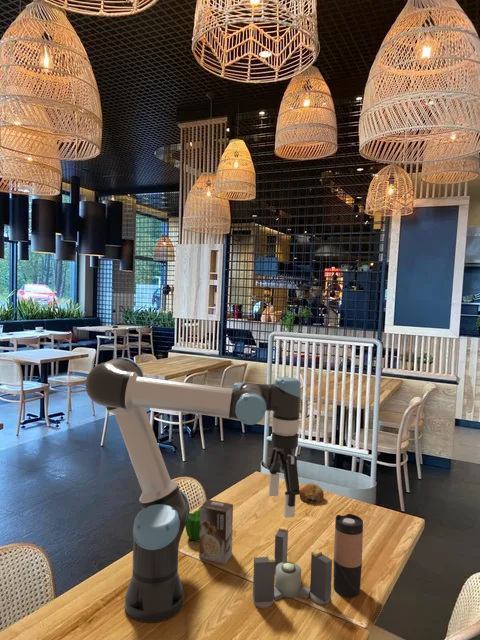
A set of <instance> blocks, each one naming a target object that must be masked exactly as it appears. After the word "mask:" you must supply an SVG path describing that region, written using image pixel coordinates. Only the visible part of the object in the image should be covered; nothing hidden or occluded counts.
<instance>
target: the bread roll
mask: <svg viewBox="0 0 480 640" xmlns="http://www.w3.org/2000/svg"><path fill="white" fill-rule="evenodd" d="M299 490H300V494H299V499H300V500H301V501H302V500H303V501H302V502H304V503H307V502H308V504H317V503H321V502H322V501H323V500H324V495H325V494H324V491H323V488H322V487H321V486H319V485H318V484H316V483H314V482H306V483H305V484H304V485H303V486H301V487H300V488H299Z"/></svg>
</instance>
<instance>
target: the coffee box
mask: <svg viewBox="0 0 480 640" xmlns="http://www.w3.org/2000/svg"><path fill="white" fill-rule="evenodd" d="M199 508H200V540H199V541H198V543H199V550H198V551H199V552H198V553H199V554H198V556H199V557H198V558H199V559H203V560H206V561H212V562H217V563H221V564H224V565H225V564H227V563H228V561H229V560H230V558H231V557H232V555H233V520H234V519H233V514H234V512H233V510H234V504H232V503H228V502H223V501H217V500H212V499H207V500H205V501H204V502H203V504H202V505H201V506H199Z"/></svg>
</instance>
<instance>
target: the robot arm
mask: <svg viewBox="0 0 480 640" xmlns="http://www.w3.org/2000/svg"><path fill="white" fill-rule="evenodd" d="M301 388H302V385H301V381H300V380H299V379H298V378H294V377H288V376H287V377H286V376H281V377H277V378H275V379H274V382H273V383H272V384H270V383H269V384H267V383H255V382H253V383H252V382H246V381H244V382H235V383H234V384H233V385H232V388H231V387H230V388H229V387H222V386H213V385H207V384H199V383H198V384H197V383H191V382H190V383H189V382H184V381H183V382H182V381H176V380H175V381H174V380H168V379H159V378H152V377H144V373H143V370H142V367H141V366H140V365H139V364H138V363H137V362H136V361H134V360H133V359H130V358H128V357H115V358H113V359H111V360H108V361H106V362H101V363H99V364H97V365H96V366H94V367H93V368H92V369H90V371H89V372H88V374H87V377H86V379H85V390H86V393H87V396H89V399H91V400H92V402H94V403H96V404H97V405H99V406H102V407H105V408H106V410H107V411H106V412H108V413H111V414H112V415H114V417H115V419H116V422H117V425H118V428H119V430H120V433H121V436H122V439H123V441H124V444H125V448H126V450H127V453H128V456H129V459H130V461H131V464H132V467H133V470H134V472H135V473H134V474H135V475H136V478H137V480H138V484H139V486H140V489H141V495H140V497H139V504H140V506H141V510H140V511H139V512H138V513H137V515H135V518H134V520H133V521H134V522H133V527H132V573H131V578H130V581H129V583H128V587H127V590H126V592H125V596H124V610H125V612H126V614H127V615H128V616H129V617H130V618H132V619H133V620H136V621H138V622H142V623H158V622H162V621H165V620H168V619H170V618H172V617H174V616H175V615H177V614H178V613H179V611H180V610H181V609H182V607H183V605H184V600H185V599H184V597H185V594H184V593H185V592H184V587H183V584H182V581H181V578H180V575H179V571H178V570H179V546H180V545H179V544H180V541H181V538H182V537H183V533H184V531H185V529H186V527H185V525H186V523H187V521H188V518H189V513H190V502H189V499H188V496H187V495H186V494H185V492H183V491H182V490H180V487H179V484H178V482H177V481H175V480H172V479H171V477H170V475H169V471H168V469H167V467H166V463H165V461H164V460H165V459H164V457H163V455H162V453H161V452H162V451H161V449H160V446H159V444H158V442H157V441H158V440H157V437H156V436H155V432H154V430H153V425H152V424H151V422H150V418H149V415H148V412H147V410H146V408H149V409H157V410H162V411H163V410H165V411H174V412H181V413H187V414H197V415H203V416H204V415H205V416H210V417H219V418H225V419H232V420H239V421H240V422H241V423H243V424H245V425H247V426H253V425H257V424H258V423H260V422H261V421H262V420H263V419H264V417H265V414H266V412H267V411H268V412H270V411H271V412H273V413H272V421H271V422H272V423H271V430H272V432H271V441H270V442H271V451H270V456H269V460H268V464H267V469H269V470H268V471H269V486H268V489H269V490H268V497H278V496H279V488H280V485H279V484H280V473H281V470H282V472H283V476H284V477H283V478H284V482H285V487H286V491H285V492H284V494H285V498H284V515H283V516H284V518H287V519H288V518H295V516H296V515H295V513H296V512H295V511H296V496H298V495H299V496H300V481H299V473H298V471H299V470H298V457H297V455H294V454H293V450H294V449H296V448H297V447H298V445H299V434H298V433H299V426H300V424H301V421H300V411H301V410H300V409H301V397H302V396H301V395H302V394H301V392H302V391H301Z"/></svg>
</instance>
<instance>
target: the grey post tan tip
mask: <svg viewBox="0 0 480 640" xmlns="http://www.w3.org/2000/svg"><path fill="white" fill-rule="evenodd" d="M310 555H311V559H310V560H311V562H310V586H309V589H310V594H309V596H310V600H311V602H313V603H315V605H316V604H317V605H321V606H322V605H324V606H325V605H328V604H329V603H330V602H331V599H332V597H331V596H332V575H333V574H332V573H333V572H332V571H333V559H331V558H329V557H328V556H326V555H325V554H323V551H322V550H320V549H318V548H316V549H315V550H312V551H311V554H310Z"/></svg>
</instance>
